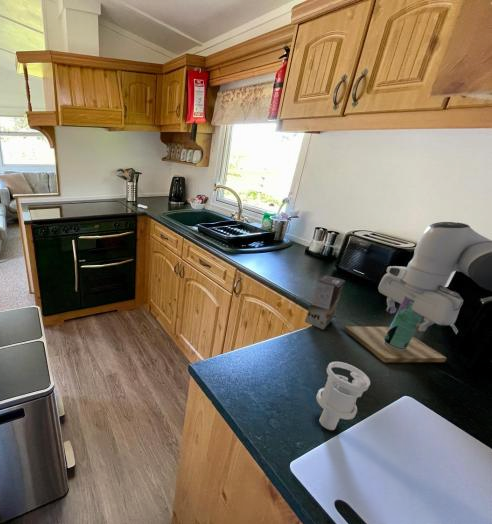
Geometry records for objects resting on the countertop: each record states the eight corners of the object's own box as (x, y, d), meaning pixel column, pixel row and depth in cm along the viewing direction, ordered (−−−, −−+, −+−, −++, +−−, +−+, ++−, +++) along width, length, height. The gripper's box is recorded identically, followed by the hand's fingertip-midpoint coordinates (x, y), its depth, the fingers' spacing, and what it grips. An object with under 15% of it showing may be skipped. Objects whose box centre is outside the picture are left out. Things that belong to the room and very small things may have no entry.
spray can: (405, 345, 90) (434, 288, 82) (405, 353, 86) (436, 294, 78) (383, 337, 93) (409, 281, 85) (383, 345, 89) (410, 287, 81)
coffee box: (324, 330, 97) (339, 287, 91) (303, 322, 101) (317, 280, 95) (331, 321, 103) (346, 280, 97) (312, 313, 107) (325, 274, 101)
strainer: (323, 439, 59) (347, 383, 53) (302, 410, 65) (322, 357, 60) (354, 438, 60) (381, 382, 54) (330, 409, 66) (352, 356, 61)
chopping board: (396, 330, 100) (397, 326, 100) (444, 362, 86) (447, 358, 85) (343, 329, 98) (345, 326, 98) (384, 362, 83) (386, 358, 83)
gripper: (476, 296, 72) (451, 342, 77) (401, 265, 91) (384, 303, 96) (454, 296, 71) (430, 342, 76) (383, 264, 90) (367, 303, 95)
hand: (404, 320), depth 86 cm, fingers open, 8 cm apart
